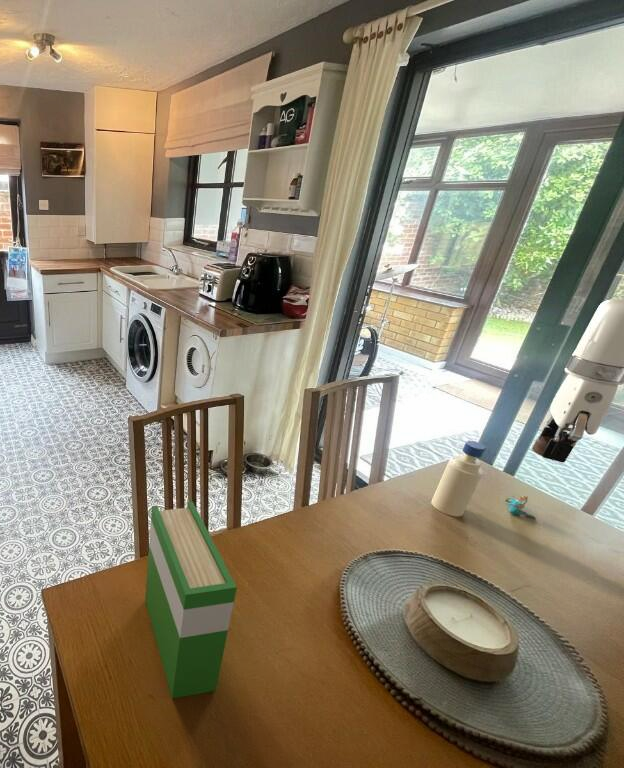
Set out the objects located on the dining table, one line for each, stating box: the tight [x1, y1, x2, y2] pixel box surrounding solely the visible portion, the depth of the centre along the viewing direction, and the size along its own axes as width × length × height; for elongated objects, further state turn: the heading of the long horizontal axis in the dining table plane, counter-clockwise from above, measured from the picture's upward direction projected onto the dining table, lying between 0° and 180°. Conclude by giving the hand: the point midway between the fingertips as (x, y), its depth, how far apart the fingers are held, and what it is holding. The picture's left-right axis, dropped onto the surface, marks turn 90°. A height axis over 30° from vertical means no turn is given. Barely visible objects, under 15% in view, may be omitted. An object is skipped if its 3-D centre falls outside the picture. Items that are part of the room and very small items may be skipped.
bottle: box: [431, 440, 487, 517], centre depth 103 cm, size 7×7×19 cm
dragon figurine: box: [506, 494, 535, 519], centre depth 107 cm, size 7×7×8 cm
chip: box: [531, 435, 554, 457], centre depth 81 cm, size 5×5×3 cm
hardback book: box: [144, 501, 238, 700], centre depth 69 cm, size 18×7×24 cm, turn 10°
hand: (549, 451), depth 82 cm, fingers closed on chip, 5 cm apart
